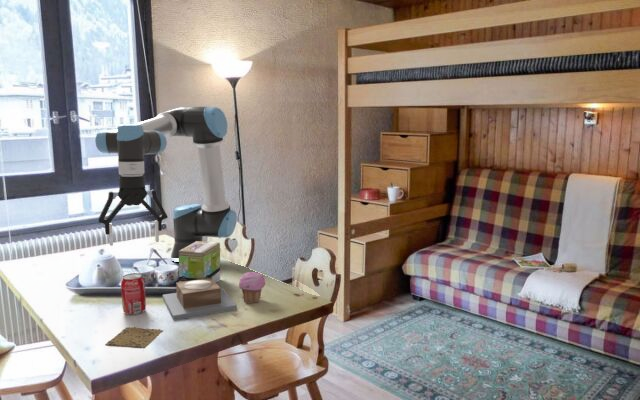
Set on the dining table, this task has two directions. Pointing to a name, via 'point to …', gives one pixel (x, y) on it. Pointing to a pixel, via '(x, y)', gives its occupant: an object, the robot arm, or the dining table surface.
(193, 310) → the base board
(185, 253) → the tea box
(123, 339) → the brown flat square slab
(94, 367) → the dining table surface
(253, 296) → the cupcake
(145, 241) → the dining table surface
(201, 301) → the block
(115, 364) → the dining table surface
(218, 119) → the robot arm
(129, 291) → the soda can
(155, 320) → the dining table surface
